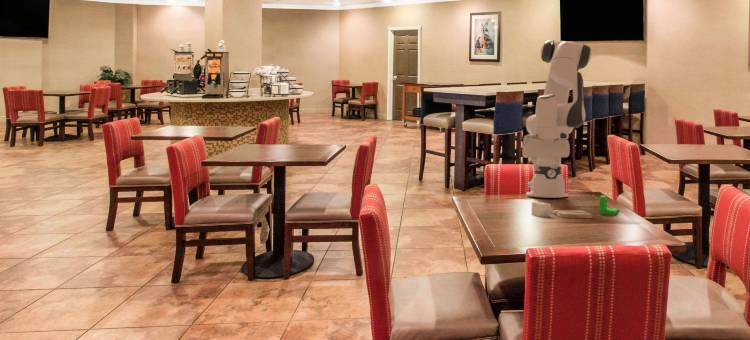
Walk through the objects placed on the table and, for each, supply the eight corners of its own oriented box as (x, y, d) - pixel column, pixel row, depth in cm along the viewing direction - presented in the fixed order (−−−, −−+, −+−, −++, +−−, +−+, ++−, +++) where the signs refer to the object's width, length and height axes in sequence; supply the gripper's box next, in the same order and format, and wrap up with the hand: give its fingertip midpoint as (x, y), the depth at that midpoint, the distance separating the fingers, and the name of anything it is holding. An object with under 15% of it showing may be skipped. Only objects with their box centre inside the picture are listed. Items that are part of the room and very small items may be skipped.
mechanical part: (614, 216, 251) (615, 196, 251) (599, 215, 254) (599, 195, 254) (619, 213, 261) (620, 194, 261) (604, 212, 264) (605, 193, 264)
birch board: (552, 213, 257) (552, 209, 257) (581, 213, 257) (581, 210, 256) (562, 217, 243) (562, 214, 243) (592, 218, 243) (592, 214, 242)
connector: (529, 214, 254) (530, 202, 253) (538, 213, 255) (538, 201, 255) (546, 218, 242) (547, 205, 241) (555, 217, 243) (555, 205, 243)
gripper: (527, 134, 243) (527, 169, 244) (572, 134, 249) (571, 168, 250) (519, 134, 249) (518, 168, 250) (563, 134, 255) (562, 168, 256)
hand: (545, 168), depth 250 cm, fingers open, 7 cm apart
